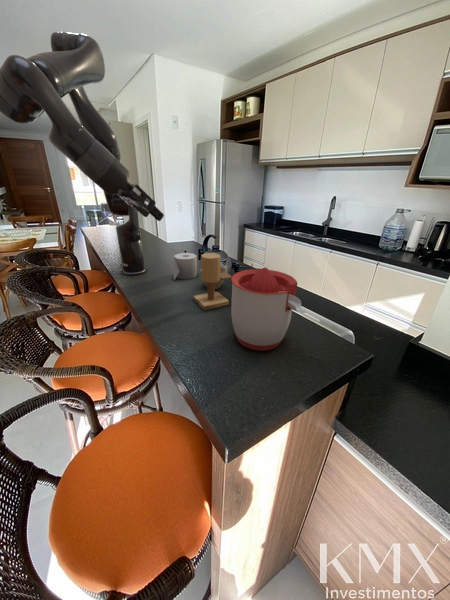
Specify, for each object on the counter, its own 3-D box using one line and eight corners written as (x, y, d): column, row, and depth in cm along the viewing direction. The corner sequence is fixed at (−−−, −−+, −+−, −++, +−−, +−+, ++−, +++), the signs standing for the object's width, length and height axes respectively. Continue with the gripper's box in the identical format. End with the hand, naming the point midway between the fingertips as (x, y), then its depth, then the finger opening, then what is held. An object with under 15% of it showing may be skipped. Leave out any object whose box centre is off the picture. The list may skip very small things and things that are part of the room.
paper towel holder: (193, 299, 87) (192, 255, 80) (216, 294, 91) (216, 252, 84) (204, 310, 80) (203, 262, 73) (228, 304, 84) (230, 259, 77)
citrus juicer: (281, 368, 56) (294, 287, 47) (217, 343, 64) (218, 270, 55) (302, 335, 68) (315, 266, 59) (246, 317, 76) (250, 254, 67)
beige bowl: (196, 289, 95) (195, 271, 92) (207, 280, 103) (207, 264, 100) (220, 293, 92) (220, 275, 89) (229, 284, 100) (230, 267, 97)
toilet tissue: (170, 281, 101) (169, 261, 98) (178, 271, 113) (177, 252, 110) (192, 282, 101) (191, 262, 97) (198, 271, 113) (197, 253, 109)
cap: (206, 283, 78) (206, 259, 74) (198, 277, 83) (198, 254, 79) (233, 278, 82) (234, 255, 79) (224, 273, 87) (225, 250, 84)
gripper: (123, 153, 52) (175, 208, 64) (103, 156, 62) (151, 203, 74) (101, 181, 51) (158, 231, 63) (84, 179, 61) (136, 223, 73)
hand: (154, 216), depth 68 cm, fingers open, 8 cm apart
